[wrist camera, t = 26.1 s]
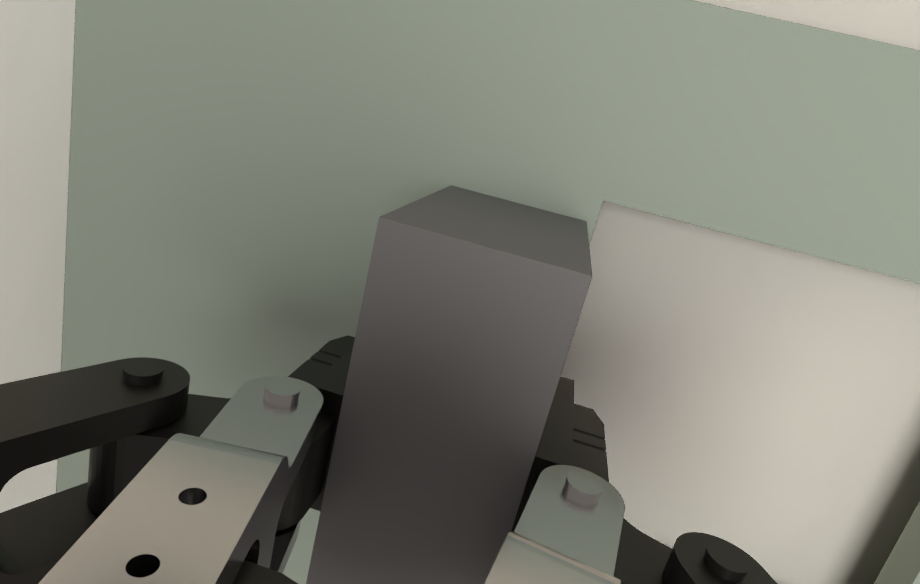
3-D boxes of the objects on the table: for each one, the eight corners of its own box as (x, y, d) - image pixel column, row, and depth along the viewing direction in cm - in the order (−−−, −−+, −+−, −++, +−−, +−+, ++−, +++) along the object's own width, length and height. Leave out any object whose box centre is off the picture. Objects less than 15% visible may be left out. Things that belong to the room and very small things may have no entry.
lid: (81, 499, 19) (-135, 660, 13) (115, -116, 14) (-213, -291, 8) (877, 781, 16) (1042, 1140, 10) (1283, 143, 11) (2039, 159, 5)
